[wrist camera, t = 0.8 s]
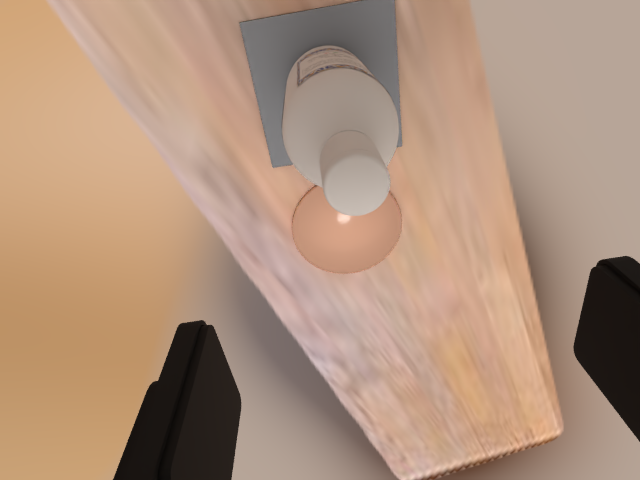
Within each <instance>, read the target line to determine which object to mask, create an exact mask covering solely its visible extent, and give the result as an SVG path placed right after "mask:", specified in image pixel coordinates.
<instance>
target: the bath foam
mask: <svg viewBox="0 0 640 480" xmlns="http://www.w3.org/2000/svg"><path fill="white" fill-rule="evenodd" d="M398 136H399V123H398V116H397V112H396V108H395V105H394V102H393V100H392V98H391V96H390V94H389V93H388V91H387V90H386V89H385V87H384V86H383V85H382V84H381V83H380V82H379V81H378V80H377V78H376V77H375V76H374V75H373V74H372V73H371V72H370V71H369V70H368V68H367V67H366V66H365V65H364V64H363V63H362V62H361V61H360V60H359V59H358V58H357V57H356V56H355V55H354V54H352V53H351V52H349V51H347V50H346V49H344V48H341V47H338V46H330V45H327V46H320V47H316V48H313V49H311V50H309V51H307V52H306V53H304V54H303V55H302V56H301V57H300V58H299V59H298V60H297V61H296V62H295V64H294V65H293V67H292V69H291V71H290V73H289V76H288V79H287V84H286V93H285V97H284V105H283V114H282V138H283V142H284V146H285V149H286V152H287V154H288V156H289V158H290V160H291V162H292V163H293V165H294V166H295V168H296V169H297V170H298V171H299V172H300V173H301V175H303V176H304V177H305V178H306V179H307V180H309V181H310V182H312V183H314V184H315V185H317V186H320V187H322V188H323V192H324V195H325V198H326V200H327V201H328V203H329V204H330V205H331V206H332V207H333V208H334V209H335V210H336V211H338V212H340V213H342V214H345V215H349V216H360V215H365V214H368V213H370V212H372V211H374V210H375V209H377V208H378V207H379V206H380V205H381V204H382V203H383V202H384V201H385V199H386V197H387V195H388V193H389V189H390V175H389V172H388V169H387V166H388V164H389V163H390V161H391V159H392V157H393V155H394V153H395V150H396V147H397V142H398Z"/></svg>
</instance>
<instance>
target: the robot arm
mask: <svg viewBox="0 0 640 480" xmlns="http://www.w3.org/2000/svg"><path fill="white" fill-rule="evenodd" d="M574 353H575V356H576V358H577V360H578V361H579V363H580V364H581V365H582V367H583V368H584V369H585V371H586V372H587V373H588V375H589V376H590V377H591V379H592V380H593V381H594V382H595V384H596V385H597V386H598V388H599V389H600V390H601V392H602V393H603V394H604V396H605V397H606V398H607V399H608V401H609V402H610V403H611V405H612V406H613V407H614V409H615V410H616V411H617V412H618V413H619V415H620V416H621V418H622V419H623V420H624V422H625V423H626V424H627V426H628V427H629V428H630V430H631V431H632V432H633V433H634V435H635V436H636V437H637V439H638V440H639V441H640V264H639V263H638V262H637V261H636V260H634V259H633V258H631V257H628V256H623V257H616V258H609V259H603V260H600V261H599V262H598V263H597V265H596V267H593V268H592V269H591V272H590V276H589V280H588V285H587V289H586V293H585V298H584V302H583V306H582V311H581V315H580V320H579V324H578V328H577V333H576V337H575V342H574ZM240 412H241V397H240V393H239V391H238V388H237V385H236V383H235V380H234V378H233V375H232V373H231V370H230V368H229V365H228V362H227V360H226V357H225V355H224V352H223V350H222V347H221V344H220V342H219V339H218V337H217V334H216V332H215V329H214V327H213V326H212V325H206V323H205V322H204V321H203V320H200V321H194V322H187V323H181V324H180V325H179V326H178V328H177V330H176V333H175V336H174V339H173V341H172V344H171V347H170V349H169V352H168V356H167V358H166V361H165V363H164V366H163V369H162V372H161V374H160V377H159V380H158V381H155V382H153V383H152V384H151V385H150V386H149V388H148V390H147V392H146V395H145V397H144V400H143V403H142V405H141V408H140V410H139V413H138V416H137V418H136V421H135V424H134V426H133V429H132V431H131V434H130V437H129V439H128V442H127V445H126V447H125V450H124V452H123V455H122V458H121V460H120V463H119V466H118V468H117V471H116V474H115V476H114V479H113V480H231V477H232V470H233V463H234V456H235V449H236V441H237V434H238V427H239V419H240Z"/></svg>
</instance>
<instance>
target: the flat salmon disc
mask: <svg viewBox="0 0 640 480" xmlns="http://www.w3.org/2000/svg"><path fill="white" fill-rule="evenodd" d="M401 228H402V219H401V213H400V209H399V207H398V205H397V203H396V201H395V199H394V197H393V196H392V194H391V193H390V192H389V193H388V195H387V197H386V199H385V201H384V202H383V203H382V204H381V205H380V206H379V207H378V208H377V209H375V210H374V211H372V212H370V213H368V214H365V215H360V216H349V215H345V214H342V213H340V212H338V211H336V210H335V209H334V208H333V207H332V206H331V205H330V204H329V203H328V201H327V200H326V198H325V195H324V192H323V188H322V187H320V186H317V185H316V186H315V187H313V188H312V189H311V190H310V191H308V192H307V193H306V194H305V196H304V197H303V198H302V199H301V201H300V202H299V204H298V206H297V208H296V210H295V213H294V216H293V222H292V232H293V239H294V242H295V245H296V247H297V249H298V250H299V252H300V253H301V255H302V256H303V257H304V258H305V259H306V260H307V261H308V262H309V263H311V264H312V265H314V266H315V267H317V268H319V269H322V270H325V271H328V272H332V273H339V274H348V273H356V272H360V271H363V270H366V269H369V268H371V267H373V266H375V265H376V264H378V263H380V262H381V261H382V260H384V259H385V258H386V257H387V256H388V255H389V254H390V252H391V251H392V250H393V249H394V247H395V245H396V244H397V242H398V239H399V237H400V233H401Z"/></svg>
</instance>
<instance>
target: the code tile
mask: <svg viewBox="0 0 640 480" xmlns="http://www.w3.org/2000/svg"><path fill="white" fill-rule="evenodd" d="M240 27H241V32H242V36H243V41H244V45H245V49H246V54H247V58H248V62H249V67H250V71H251V75H252V80H253V84H254V88H255V93H256V97H257V102H258V106H259V110H260V115H261V119H262V123H263V128H264V132H265V136H266V141H267V145H268V149H269V154H270V158H271V163H272V167H273V168H275V167H281V166H287V165H293V163H292V162H291V160H290V158H289V156H288V154H287V152H286V149H285V146H284V142H283V138H282V114H283V105H284V97H285V93H286V84H287V79H288V76H289V73H290V71H291V69H292V67H293V65H294V64H295V62H296V61H297V60H298V59H299V58H300V57H301V56H302V55H303V54H304V53H306V52H307V51H309V50H311V49H313V48H316V47H320V46H327V45H330V46H338V47H341V48H344V49H346V50H347V51H349V52H351V53H352V54H354V55H355V56H356V57H357V58H358V59H359V60H360V61H361V62H362V63H363V64H364V65H365V66H366V67H367V68H368V70H369V71H370V72H371V73H372V74H373V75H374V76H375V77H376V78H377V80H378V81H379V82H380V83H381V84H382V85H383V86H384V87H385V89H386V90H387V91H388V93H389V94H390V96H391V98H392V100H393V102H394V105H395V108H396V112H397V116H398V123H399V136H398V142H397V147H401V146H402V134H401V115H400V95H399V76H398V57H397V38H396V18H395V0H362V1H356V2H351V3H345V4H340V5H334V6H329V7H323V8H318V9H312V10H307V11H301V12H295V13H290V14H284V15H279V16H273V17H268V18H262V19H257V20H251V21H246V22H240Z"/></svg>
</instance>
